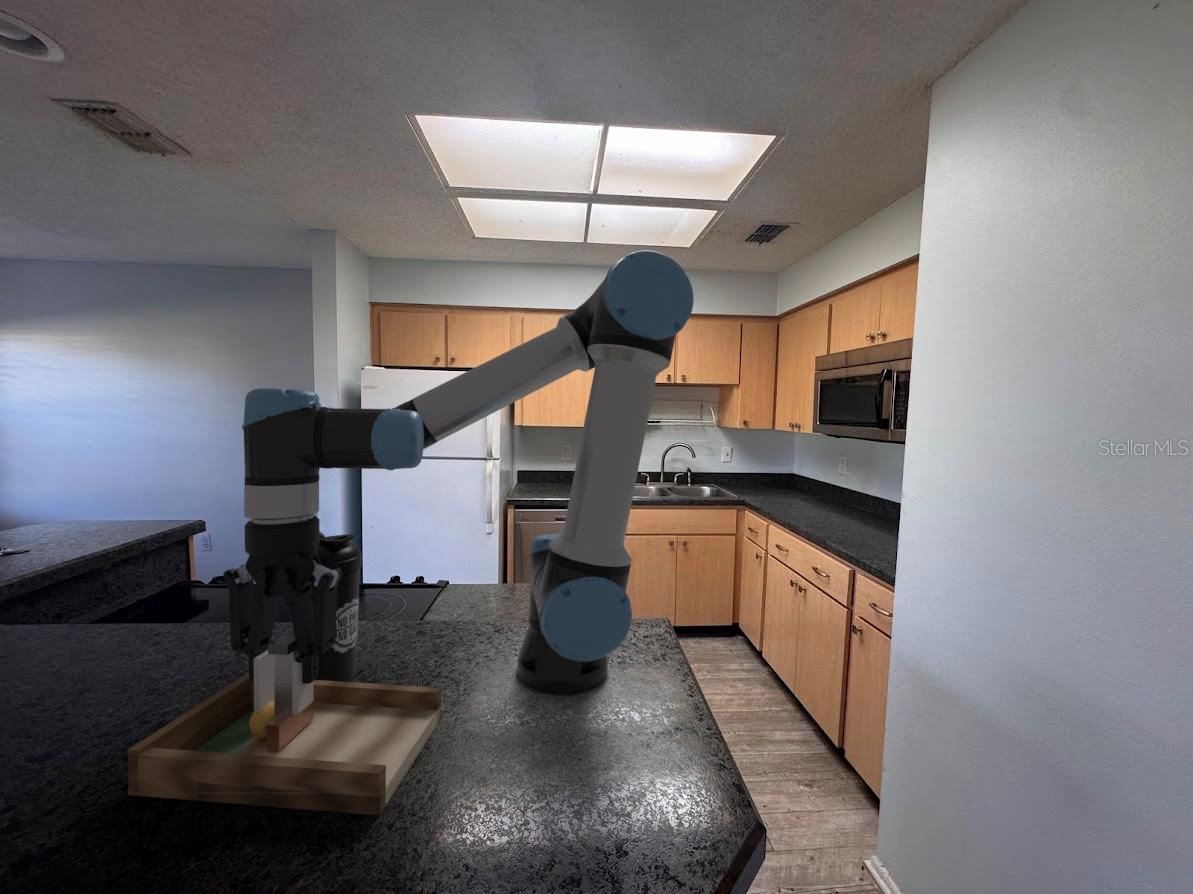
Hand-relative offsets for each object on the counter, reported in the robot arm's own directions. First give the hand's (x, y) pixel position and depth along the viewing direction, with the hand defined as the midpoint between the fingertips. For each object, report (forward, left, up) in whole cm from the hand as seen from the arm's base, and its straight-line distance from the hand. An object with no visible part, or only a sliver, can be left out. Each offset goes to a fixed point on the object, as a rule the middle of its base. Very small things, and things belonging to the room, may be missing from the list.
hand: (284, 705), depth 57 cm
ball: (+2, 0, -2) cm, 3 cm away
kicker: (-1, 0, -3) cm, 4 cm away
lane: (-2, 0, -6) cm, 6 cm away
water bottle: (+6, -16, -6) cm, 18 cm away
